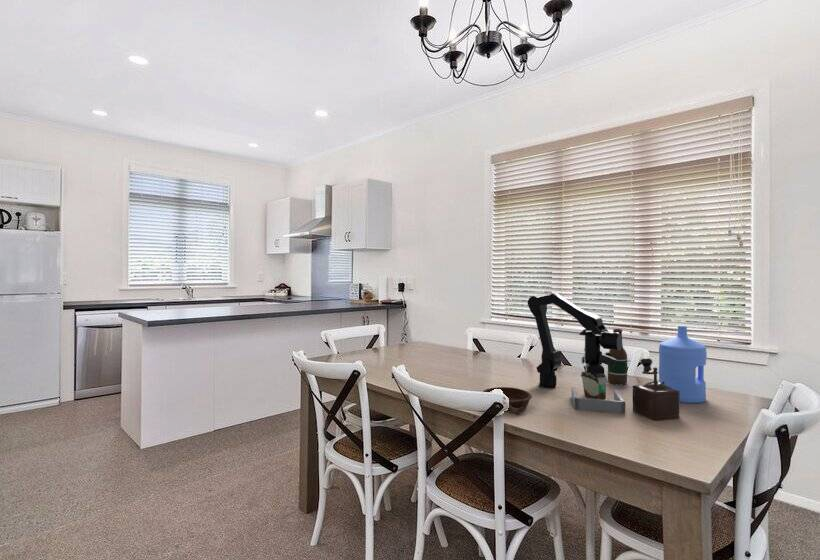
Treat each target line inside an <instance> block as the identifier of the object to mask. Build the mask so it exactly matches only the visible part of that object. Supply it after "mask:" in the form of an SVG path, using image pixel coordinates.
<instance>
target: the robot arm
mask: <svg viewBox="0 0 820 560" xmlns="http://www.w3.org/2000/svg"><path fill="white" fill-rule="evenodd" d="M548 305H555V306H556V307H558V308H559V309H561V310H562V311H564V312H565V313H567V314H568V315H570V316H572V318H574V319H575V320H577V322H578V323H579V324H580V326H582V327H583V328H584V329H583V330H582V331H581V332H579V336H584V349H583V351H584V355H583V356H582V357H581V363H582V365H583V364H585V365H584V366H583V369H584V372H585V371H586V372H587V373H597V374H605V367H604V366H603V364H605V365H607V366H608V365H609V366H610V367H614V365H615V363H616V359H615V358H613V357H611V354H610V353H609V351H606V352H605V353H603V351H602V350H601V347H602V349H604V350H618V351H620V350H621V347H622V344H623V339H622V340H621V337H620V333H617V332H616V333H614V332H613V331H612V332H611V331H609V329H607V328H606V326H605V325H604V323H603V319H602V318H601V316H600V315H597V314H594V313H593V312H590V311H589V312H588V311H586V310H584V309H582V308H581V307H579V306H577V305H575V304H574V303H573V302H571V301H569V300H568V299H566V298H565V297H563V296H561V295H560V294H559V293H557V292H555V293H551V294H547V295H534V296H529V298H528V300H527V306H528V309H529V312H530V313H531V314H532V315H533V316H534V318H535V319H534V320H535V322H536V323H535V324H536V327H537V330H538V335H539V340H540V344H541V348H542V350H541V351H542V352H541V363H540V364H538V366H536V372H537V373H539V383H538V385H539V387H540V388H550V389H551V388H552V389H556V386H557V374H556V372H557V371H558V369H559V367H560V366H561V365H562V361H563V358H562V356H561V355H562V354H561V350H557V349H556V347H555V346H554V342H553V339H552V335H551V329H550V326H549V323H548V318H547V313H548V312H547V311H548Z"/></svg>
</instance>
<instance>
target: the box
mask: <svg viewBox="0 0 820 560" xmlns="http://www.w3.org/2000/svg"><path fill="white" fill-rule="evenodd" d="M571 399H572V400H571V401H572V402H573V407H574V410H578V409H581V411H592V412H601V411H602V413H603V412H605V413H613V412H615V414H624V413H625V414H626V401H625V399H624V398H623V396H622V395H621V394H620V392H619V390H617V389H614V390H613V399H606V400H603V399H591V398H585V397H579V396H578V392H577V390H576V387H575V386H571Z"/></svg>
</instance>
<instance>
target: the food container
mask: <svg viewBox="0 0 820 560" xmlns="http://www.w3.org/2000/svg"><path fill="white" fill-rule="evenodd" d="M580 377H581V380H582V386H583V387H582V388H583V394H584V398H591V399H603V400H607V399H606V398H607V395H606V393H607V383H609V382H608V376H607V375H606V374H605V373H604V374H597V373H587V372H586V371H585V370H584V371H581V373H580Z"/></svg>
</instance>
